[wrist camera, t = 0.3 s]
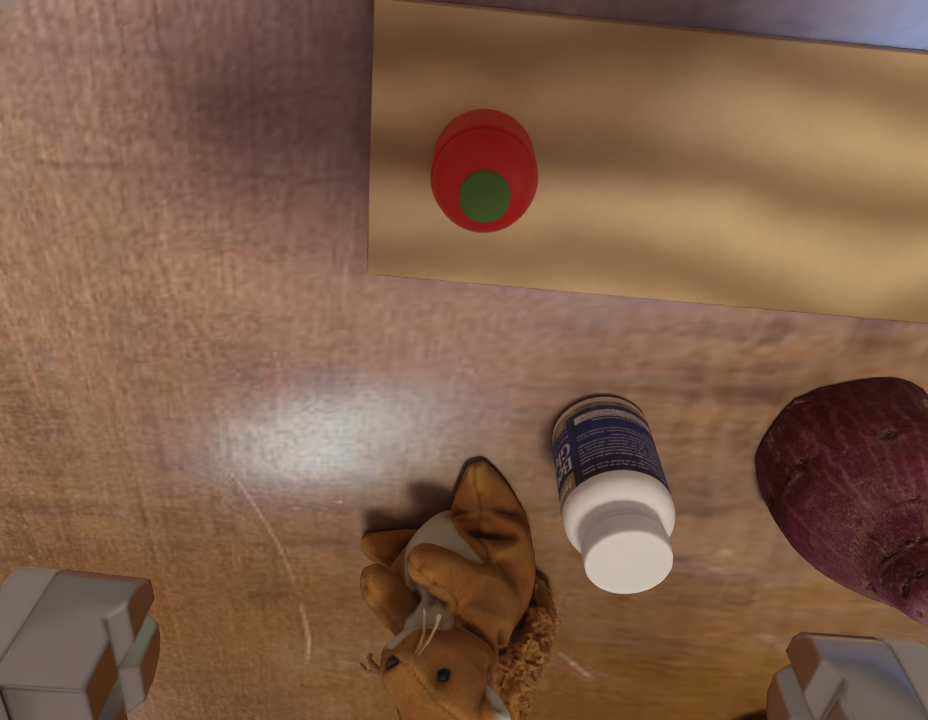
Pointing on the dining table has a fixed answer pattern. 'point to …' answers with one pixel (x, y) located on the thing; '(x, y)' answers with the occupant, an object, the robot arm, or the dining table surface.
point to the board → (660, 160)
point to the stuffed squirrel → (461, 608)
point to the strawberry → (484, 171)
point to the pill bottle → (613, 494)
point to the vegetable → (855, 487)
